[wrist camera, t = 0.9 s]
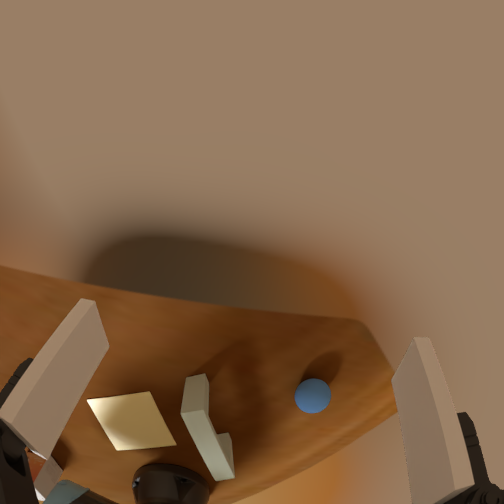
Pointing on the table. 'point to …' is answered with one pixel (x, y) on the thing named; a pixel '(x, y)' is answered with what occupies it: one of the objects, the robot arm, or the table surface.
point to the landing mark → (132, 421)
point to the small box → (43, 474)
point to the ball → (312, 395)
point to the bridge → (206, 429)
